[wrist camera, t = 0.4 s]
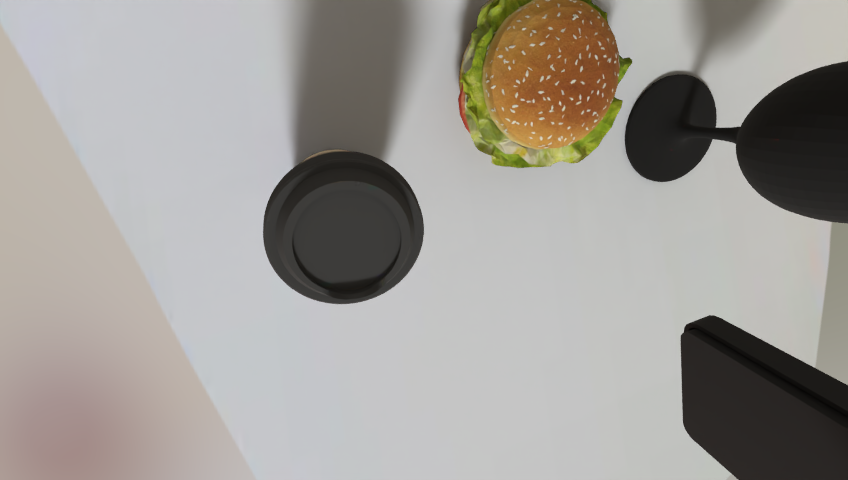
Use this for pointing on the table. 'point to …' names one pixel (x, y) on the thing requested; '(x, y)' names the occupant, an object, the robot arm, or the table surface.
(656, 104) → the wine glass
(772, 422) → the robot arm
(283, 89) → the table surface
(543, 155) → the food
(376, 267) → the coffee cup
